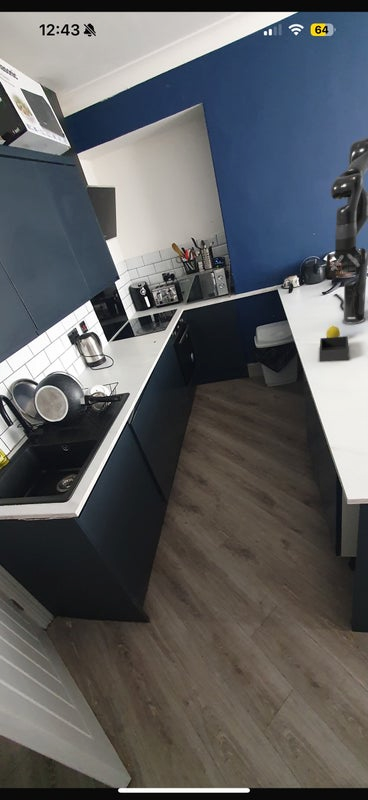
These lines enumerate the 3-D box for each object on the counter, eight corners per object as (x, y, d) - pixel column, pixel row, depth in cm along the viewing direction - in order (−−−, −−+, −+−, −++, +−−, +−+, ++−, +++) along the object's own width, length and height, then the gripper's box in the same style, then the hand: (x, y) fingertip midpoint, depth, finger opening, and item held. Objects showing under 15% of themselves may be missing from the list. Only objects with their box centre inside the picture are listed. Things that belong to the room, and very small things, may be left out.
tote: (320, 347, 143) (320, 338, 140) (347, 346, 138) (347, 336, 136) (319, 361, 133) (319, 351, 131) (348, 360, 128) (348, 349, 126)
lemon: (340, 339, 145) (340, 323, 141) (338, 344, 141) (338, 328, 137) (327, 339, 148) (327, 323, 144) (325, 344, 144) (325, 328, 140)
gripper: (365, 229, 123) (363, 272, 131) (326, 237, 129) (326, 277, 137) (367, 233, 117) (364, 276, 126) (326, 241, 123) (326, 282, 132)
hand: (344, 277), depth 131 cm, fingers open, 8 cm apart
